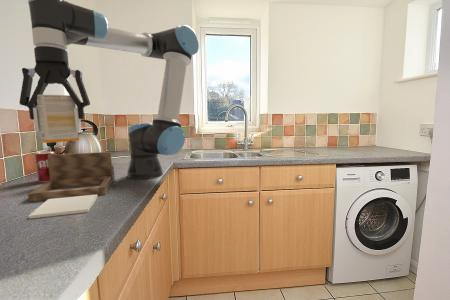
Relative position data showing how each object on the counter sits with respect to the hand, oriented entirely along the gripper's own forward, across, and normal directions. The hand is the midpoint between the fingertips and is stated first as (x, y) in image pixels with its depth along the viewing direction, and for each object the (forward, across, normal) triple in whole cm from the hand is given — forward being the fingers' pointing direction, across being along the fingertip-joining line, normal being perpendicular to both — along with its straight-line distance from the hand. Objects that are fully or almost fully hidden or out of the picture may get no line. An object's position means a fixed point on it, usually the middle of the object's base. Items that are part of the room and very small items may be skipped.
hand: (59, 131), depth 71 cm
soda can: (+23, +17, -38) cm, 47 cm away
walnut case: (+22, +2, -19) cm, 29 cm away
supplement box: (+3, 0, 0) cm, 3 cm away
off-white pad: (+22, 0, 0) cm, 22 cm away
